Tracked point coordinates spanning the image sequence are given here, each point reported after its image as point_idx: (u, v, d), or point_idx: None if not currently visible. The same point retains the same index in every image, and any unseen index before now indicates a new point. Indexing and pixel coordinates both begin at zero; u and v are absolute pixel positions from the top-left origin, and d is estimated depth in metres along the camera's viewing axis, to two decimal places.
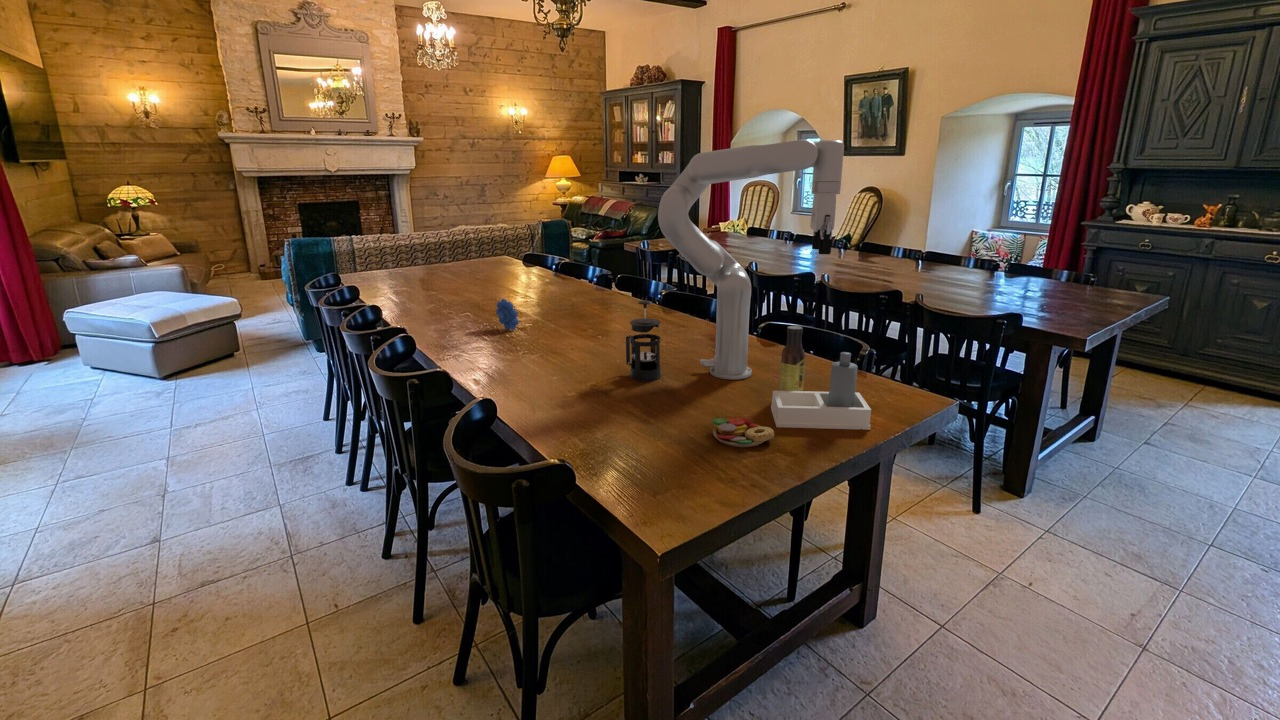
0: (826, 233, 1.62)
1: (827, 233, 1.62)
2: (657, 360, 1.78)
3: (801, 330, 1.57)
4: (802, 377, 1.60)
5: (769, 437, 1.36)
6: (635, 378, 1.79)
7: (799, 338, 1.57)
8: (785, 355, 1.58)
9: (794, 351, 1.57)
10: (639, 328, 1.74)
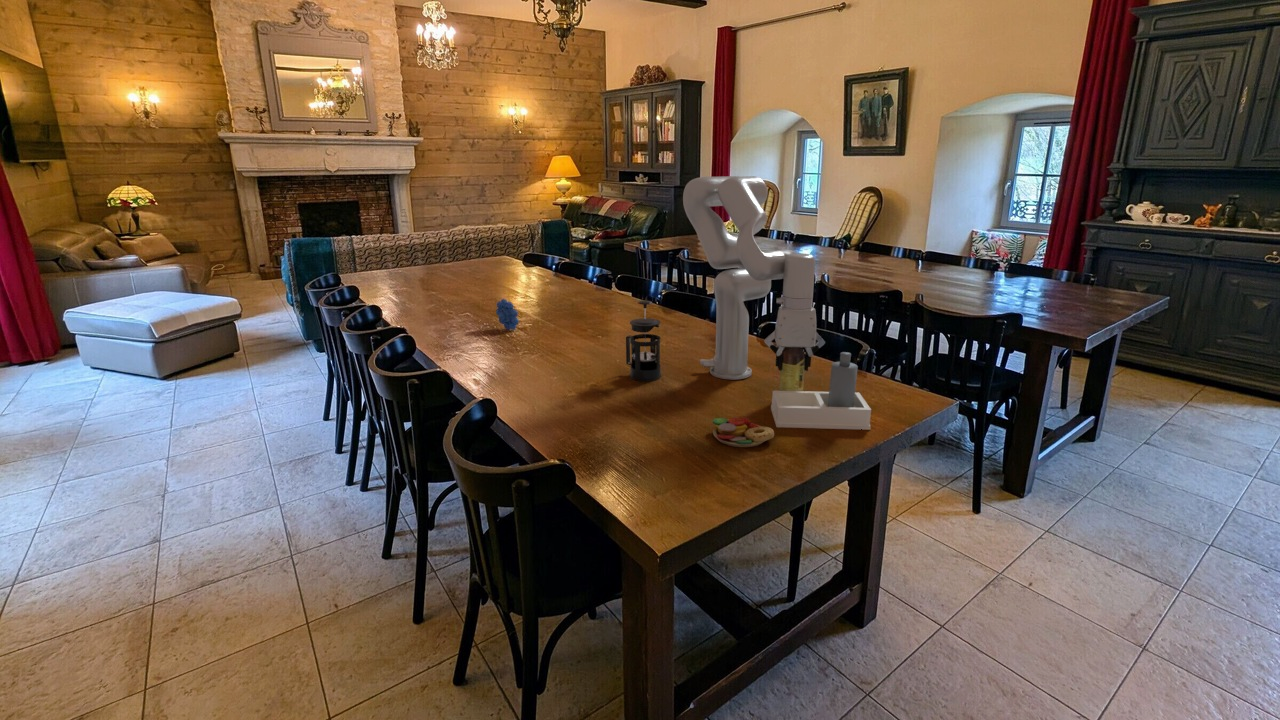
0: None
1: None
2: (657, 360, 1.78)
3: None
4: (802, 377, 1.60)
5: (769, 437, 1.36)
6: (635, 378, 1.79)
7: None
8: (785, 355, 1.58)
9: (794, 351, 1.57)
10: (639, 328, 1.74)
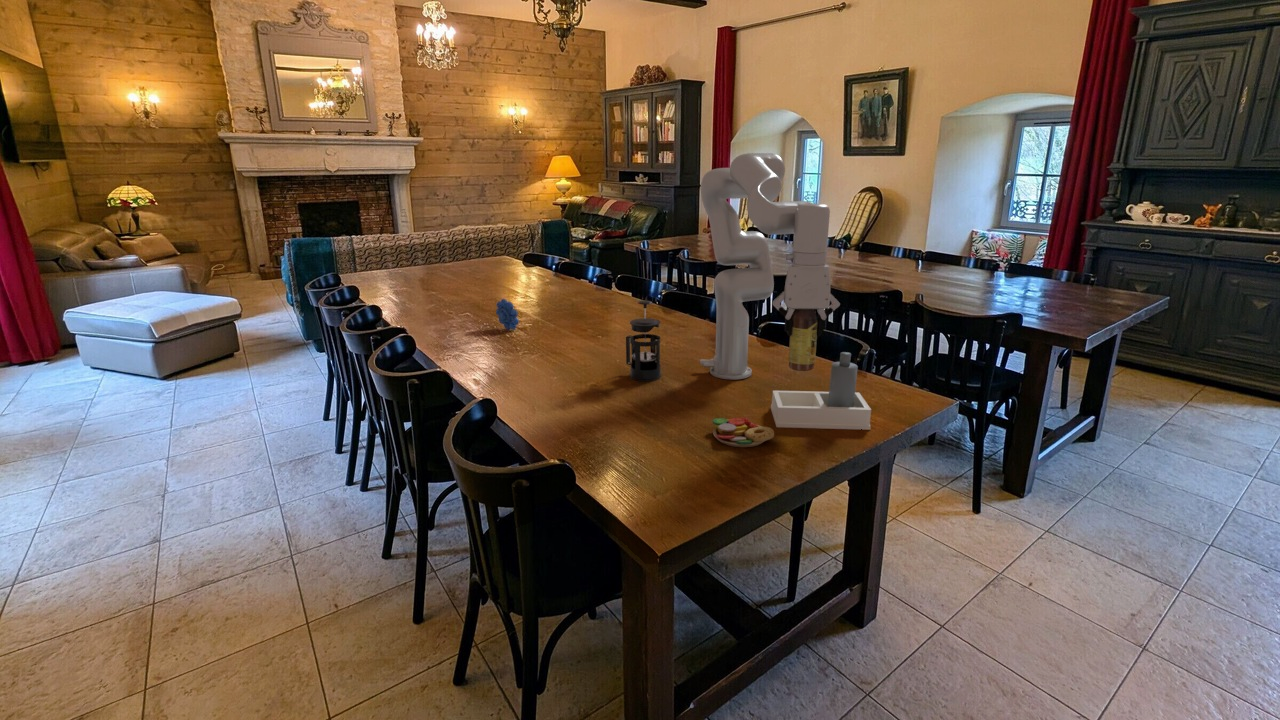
0: None
1: None
2: (657, 360, 1.78)
3: None
4: (814, 343, 1.43)
5: (769, 437, 1.36)
6: (635, 378, 1.79)
7: None
8: (795, 318, 1.42)
9: (805, 313, 1.41)
10: (639, 328, 1.74)
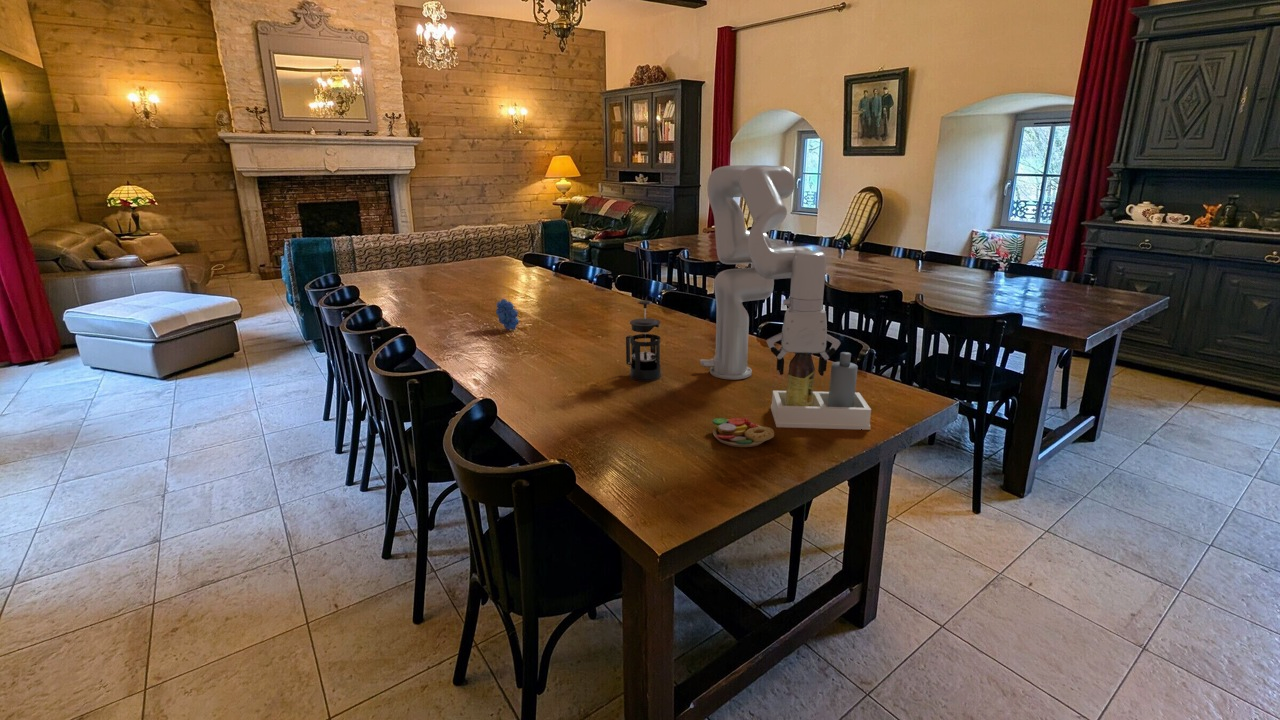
0: None
1: None
2: (657, 360, 1.78)
3: None
4: (811, 391, 1.47)
5: (769, 437, 1.36)
6: (635, 378, 1.79)
7: None
8: (793, 367, 1.46)
9: (803, 363, 1.44)
10: (639, 328, 1.74)
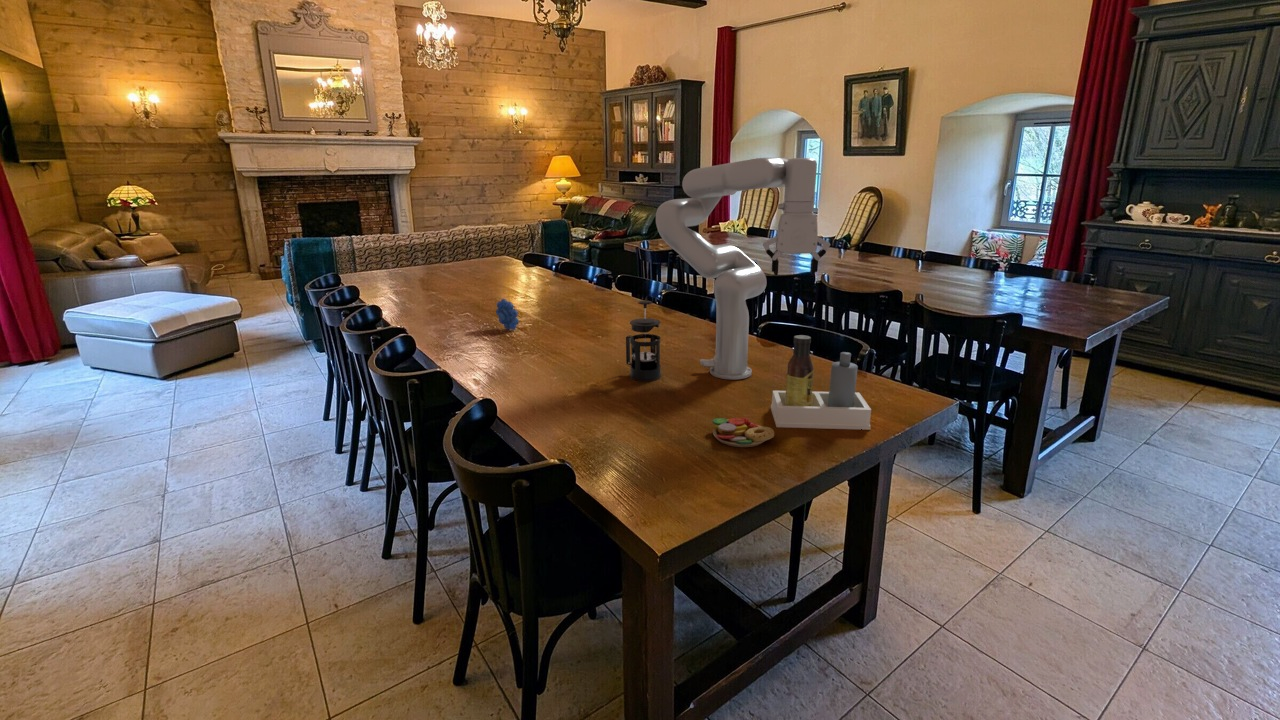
0: None
1: (824, 252, 1.59)
2: (657, 360, 1.78)
3: (809, 340, 1.44)
4: (810, 391, 1.47)
5: (769, 437, 1.36)
6: (635, 378, 1.79)
7: (807, 349, 1.45)
8: (792, 367, 1.46)
9: (801, 363, 1.45)
10: (639, 328, 1.74)
